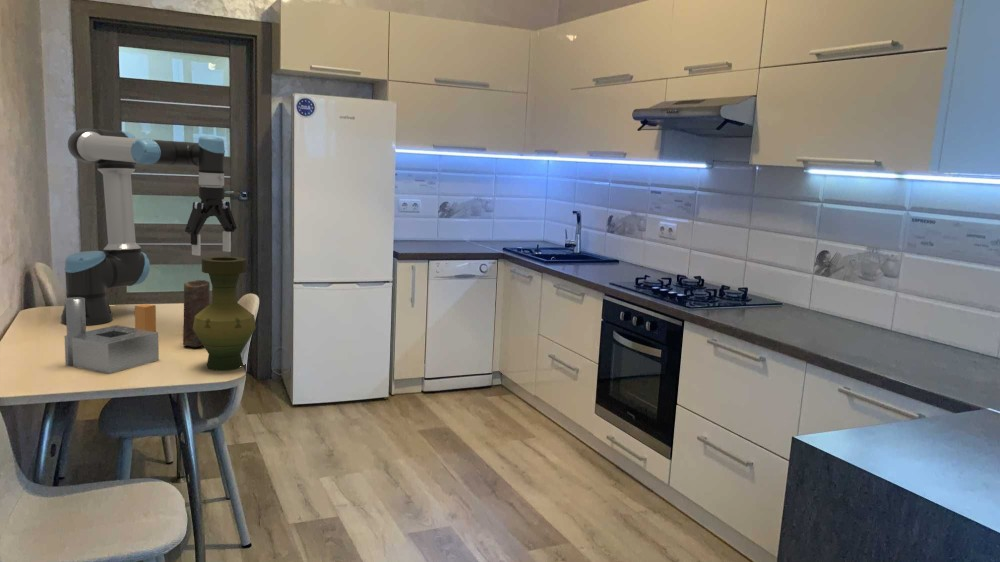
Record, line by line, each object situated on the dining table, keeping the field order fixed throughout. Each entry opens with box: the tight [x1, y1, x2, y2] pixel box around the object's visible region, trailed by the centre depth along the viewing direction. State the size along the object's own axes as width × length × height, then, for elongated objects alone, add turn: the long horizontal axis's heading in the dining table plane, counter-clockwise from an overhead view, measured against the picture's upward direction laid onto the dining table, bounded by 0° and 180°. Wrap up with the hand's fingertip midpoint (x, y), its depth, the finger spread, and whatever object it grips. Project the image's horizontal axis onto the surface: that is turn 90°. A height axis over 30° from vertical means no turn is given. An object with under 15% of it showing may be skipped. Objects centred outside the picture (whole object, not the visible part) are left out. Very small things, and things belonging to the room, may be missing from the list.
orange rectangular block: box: [134, 303, 157, 332], centre depth 216 cm, size 4×4×12 cm
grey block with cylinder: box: [63, 297, 160, 375], centre depth 195 cm, size 16×16×18 cm
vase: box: [193, 255, 257, 372], centre depth 197 cm, size 16×16×30 cm
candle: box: [182, 279, 211, 348], centre depth 216 cm, size 8×7×20 cm
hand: (211, 253), depth 229 cm, fingers open, 13 cm apart
